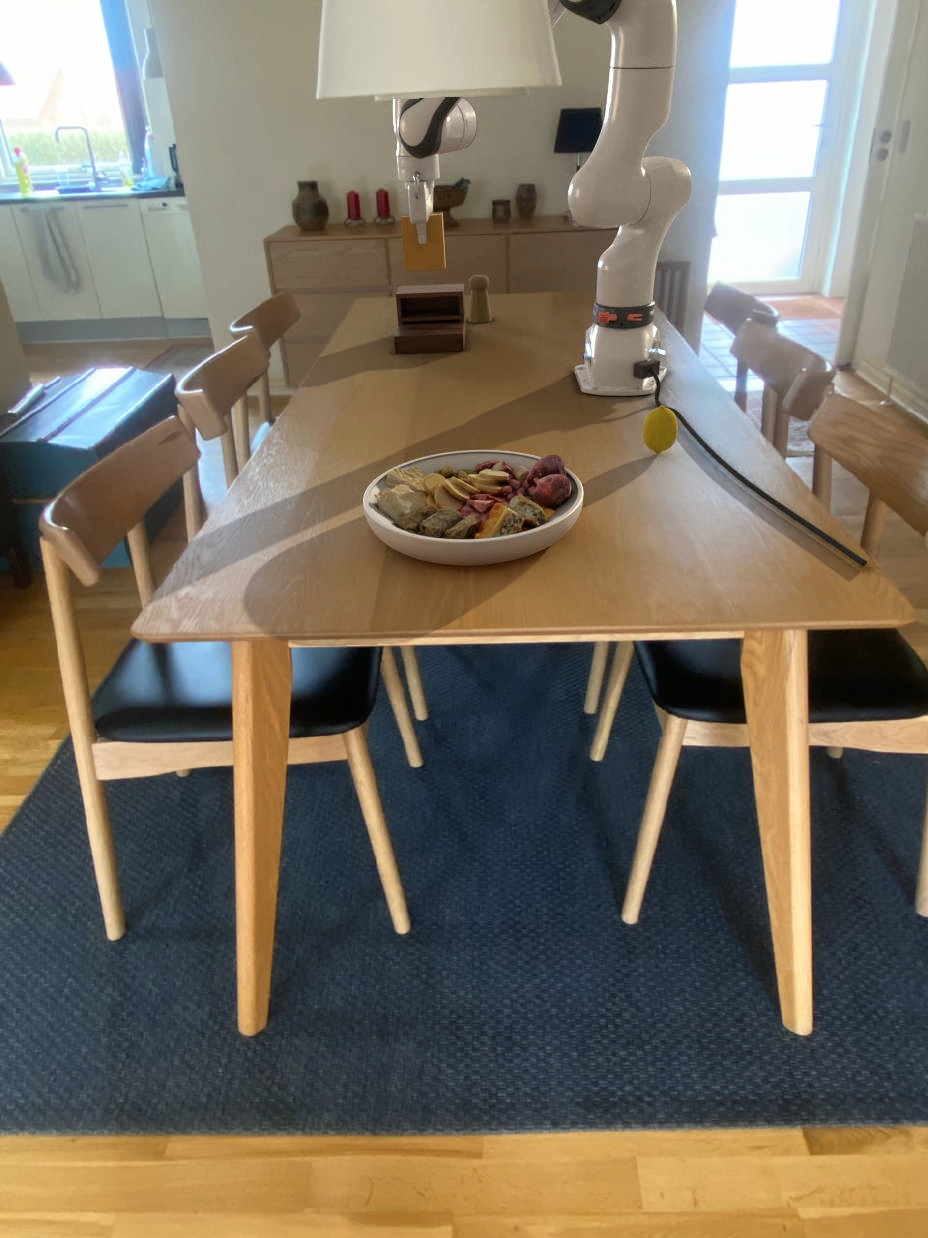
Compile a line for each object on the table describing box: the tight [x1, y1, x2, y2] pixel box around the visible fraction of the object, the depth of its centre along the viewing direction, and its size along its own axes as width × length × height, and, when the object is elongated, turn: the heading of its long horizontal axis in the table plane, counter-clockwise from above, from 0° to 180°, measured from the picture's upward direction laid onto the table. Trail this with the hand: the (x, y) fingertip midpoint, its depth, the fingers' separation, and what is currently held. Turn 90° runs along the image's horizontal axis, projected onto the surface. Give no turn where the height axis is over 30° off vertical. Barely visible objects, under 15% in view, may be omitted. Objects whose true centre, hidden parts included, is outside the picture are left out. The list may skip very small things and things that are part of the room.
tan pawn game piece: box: [468, 274, 493, 324], centre depth 212 cm, size 6×6×11 cm
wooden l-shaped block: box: [393, 283, 467, 355], centre depth 196 cm, size 20×16×11 cm
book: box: [400, 211, 447, 272], centre depth 182 cm, size 4×9×11 cm, turn 89°
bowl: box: [362, 449, 584, 566], centre depth 113 cm, size 30×30×8 cm
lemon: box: [642, 404, 679, 455], centre depth 131 cm, size 6×6×8 cm
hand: (423, 241), depth 182 cm, fingers closed on book, 4 cm apart
